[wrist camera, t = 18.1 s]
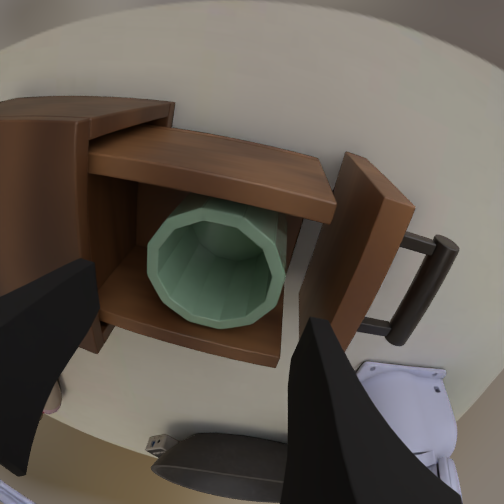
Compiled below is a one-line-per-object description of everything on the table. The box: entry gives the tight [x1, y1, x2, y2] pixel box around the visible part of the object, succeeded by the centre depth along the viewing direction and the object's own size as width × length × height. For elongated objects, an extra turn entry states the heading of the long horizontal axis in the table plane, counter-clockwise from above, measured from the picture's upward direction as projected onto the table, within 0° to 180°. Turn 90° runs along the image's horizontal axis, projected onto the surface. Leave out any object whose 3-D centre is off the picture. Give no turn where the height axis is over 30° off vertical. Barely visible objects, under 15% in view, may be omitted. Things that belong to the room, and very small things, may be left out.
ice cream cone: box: [43, 381, 62, 414], centre depth 30 cm, size 5×5×15 cm
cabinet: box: [0, 96, 175, 354], centre depth 14 cm, size 14×11×9 cm
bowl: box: [151, 433, 288, 503], centre depth 31 cm, size 12×22×6 cm, turn 82°
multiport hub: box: [145, 434, 179, 458], centre depth 36 cm, size 4×11×2 cm, turn 41°
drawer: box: [88, 124, 459, 368], centre depth 14 cm, size 17×9×7 cm, turn 78°
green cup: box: [147, 192, 287, 329], centre depth 14 cm, size 5×5×6 cm
